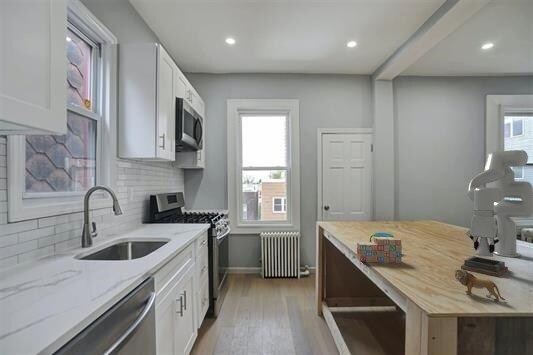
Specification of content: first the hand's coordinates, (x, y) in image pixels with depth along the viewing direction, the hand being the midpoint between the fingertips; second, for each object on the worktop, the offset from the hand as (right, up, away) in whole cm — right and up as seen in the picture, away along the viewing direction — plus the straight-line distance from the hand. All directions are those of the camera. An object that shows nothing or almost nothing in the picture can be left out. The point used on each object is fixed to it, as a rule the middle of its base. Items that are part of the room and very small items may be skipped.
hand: (484, 250), depth 132 cm
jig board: (0, -9, 0) cm, 9 cm away
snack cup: (-34, -10, +35) cm, 49 cm away
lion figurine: (-27, -9, -31) cm, 42 cm away
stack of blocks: (-45, -9, +14) cm, 48 cm away
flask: (0, -2, 0) cm, 2 cm away
